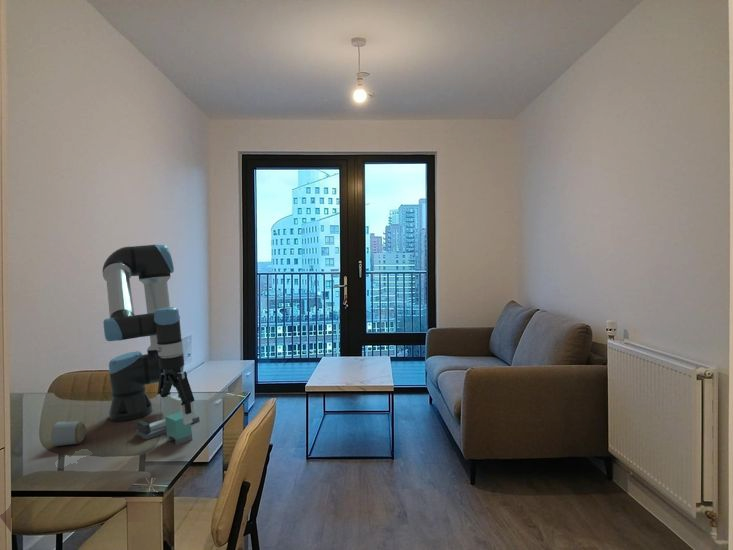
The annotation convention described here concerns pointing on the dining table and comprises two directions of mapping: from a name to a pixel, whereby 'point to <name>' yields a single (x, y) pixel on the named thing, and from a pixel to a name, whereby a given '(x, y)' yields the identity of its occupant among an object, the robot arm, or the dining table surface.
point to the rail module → (178, 428)
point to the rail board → (161, 430)
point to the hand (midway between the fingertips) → (177, 419)
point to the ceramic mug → (68, 433)
